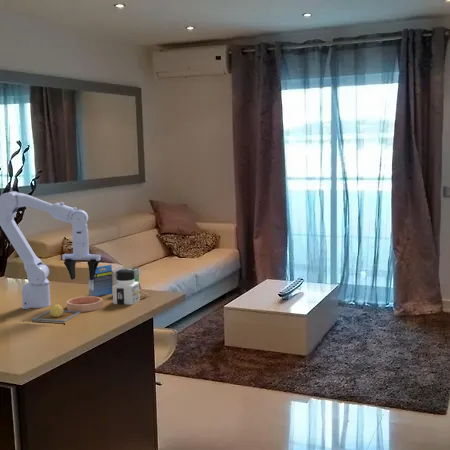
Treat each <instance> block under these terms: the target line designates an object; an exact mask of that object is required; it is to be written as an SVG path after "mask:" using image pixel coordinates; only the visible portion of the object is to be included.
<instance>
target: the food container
mask: <svg viewBox="0 0 450 450" xmlns="http://www.w3.org/2000/svg"><path fill="white" fill-rule="evenodd" d="M131 269H132V270H134V277H135V281H134V282H139V283H140V280H139V279H140V275H141V273H142V272H141V269H140V267H138V266H133V268H131ZM117 271H118V270H115V273H114V277H115V279H116V284H117V283H118V282H117Z"/></svg>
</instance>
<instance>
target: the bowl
mask: <svg viewBox="0 0 450 450" xmlns="http://www.w3.org/2000/svg"><path fill="white" fill-rule="evenodd" d="M103 307H104V300H103V297H100V296H95V297H93V296H89V295H88V296H77V297H73V298H70V299H67V301H66V309H67V310H66V311H81V313H85V312H93V311H97V310H100V309H102V308H103Z"/></svg>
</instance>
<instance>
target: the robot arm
mask: <svg viewBox="0 0 450 450" xmlns="http://www.w3.org/2000/svg"><path fill="white" fill-rule="evenodd" d="M24 207H31V208H34V209H37V210H40V211H43V212H47V213H49V214H50V216H51V218H53V219H56V220H59V221H63V222H66V223H68V224H69V223H70V224H71V225H72V226H71V229H72V231H71V233H72V234H71V235H72V236H71V237H72V253H64V254H62V255H61V256H62V257H61V258H62V259H61V260H62V261H63V265H64V266H65V267H66V269H67V271H68V274H69V277H70V280H75V279H76V263H77V262H76V261H87V262H86V263H87V266H88V272H89V273H88V275H89V276H90V280H93V279H94V276H95V271H96V268H97V267H99V264H100V261H101V260H102V255H101V254H94V253H90V243H89V242H90V241H89V228H88V220H89V215H88V212H86V211H85V210H83V209H81V208H80V209H78V208H77V207H76V206H74V207H72V206H68V205H65V202H63V201H60V202H55V203H50V202H47V201H45V200H42V199H39V198H38V197H35V196H33V195H30V194H27V193H23V192H18V191H15V190H12V191H8V192H4V193H2V194H1V195H0V227H1V229H2V231H3V232H4V234H5V236H6V237H7V239H8V241H9V242H10V244H11V246H12V247H13V248H14V250H15V251H16V254H17V255H18V256H19V258H20V260H21V262H22V263H23V267H24V271H25V273H26V278H27V281H28V283H27V282H26V283H24V284H23V286H22V289H21V296H22V297H21V299H22V300H21V302H22V307H21V309H22V310H28V309H30V308H33V309H34V308H35V309H36V308H41V309H42V308H45V307H46V308H47V307H49V306H51V293H50V280H49V279H48V278H49V276H50V268H49V266H47V264H45V263H43V261H42V259H40V257H38V256H37V255H36V253H35V252H34V251H33V248H32V247H31V245H30V244H29V242H28V240H27V239H26V237H25V235H24V234H23V232H22V230H21V229H20V227H19V226H18V224H17V222H16V221H15V217H16V214H17V211H18V209H20V208H24ZM89 276H88V277H89Z"/></svg>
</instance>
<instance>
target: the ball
mask: <svg viewBox="0 0 450 450" xmlns="http://www.w3.org/2000/svg"><path fill="white" fill-rule="evenodd" d="M49 310H50V312H49V313H50V315H51V317H55V318H58V317H59V318H60V317H61V316H63V313H64V312H63V310H64V308H63V306H62V305H61V304H59V303H58V304H57V303H56V304H53V305H52V306H51V307H50V309H49Z"/></svg>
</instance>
